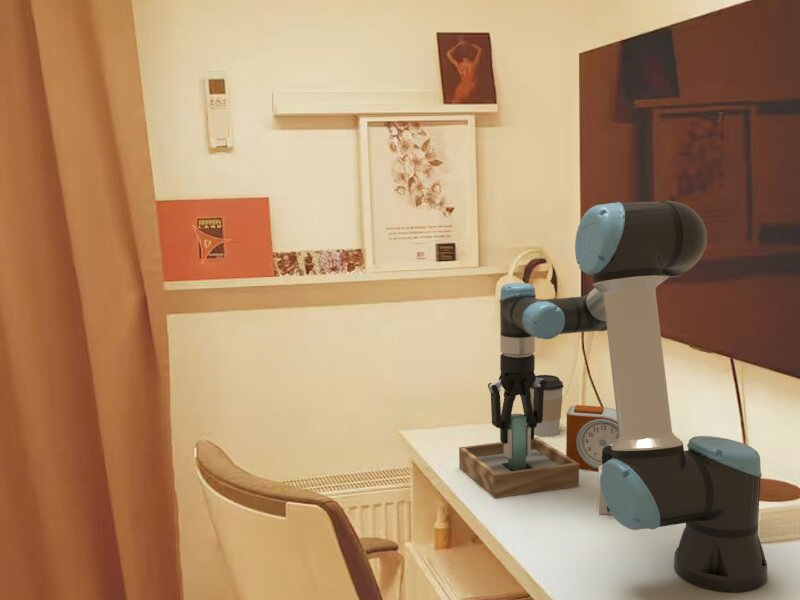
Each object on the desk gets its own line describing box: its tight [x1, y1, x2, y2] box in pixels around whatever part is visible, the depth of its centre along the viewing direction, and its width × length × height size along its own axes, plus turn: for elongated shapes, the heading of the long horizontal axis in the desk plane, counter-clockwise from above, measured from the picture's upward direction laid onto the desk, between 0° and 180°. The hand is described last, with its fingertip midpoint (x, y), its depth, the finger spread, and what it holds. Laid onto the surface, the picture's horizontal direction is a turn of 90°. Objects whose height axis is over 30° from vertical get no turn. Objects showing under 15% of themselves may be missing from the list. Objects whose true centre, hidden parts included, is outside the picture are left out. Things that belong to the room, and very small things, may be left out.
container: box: [597, 444, 613, 516], centre depth 184 cm, size 8×8×13 cm
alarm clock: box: [565, 404, 619, 472], centre depth 210 cm, size 15×8×14 cm, turn 71°
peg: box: [508, 413, 527, 471], centre depth 203 cm, size 4×4×14 cm
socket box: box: [458, 437, 580, 499], centre depth 204 cm, size 20×20×5 cm
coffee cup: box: [530, 374, 564, 438], centre depth 235 cm, size 9×9×15 cm
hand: (517, 455), depth 204 cm, fingers closed on peg, 4 cm apart
